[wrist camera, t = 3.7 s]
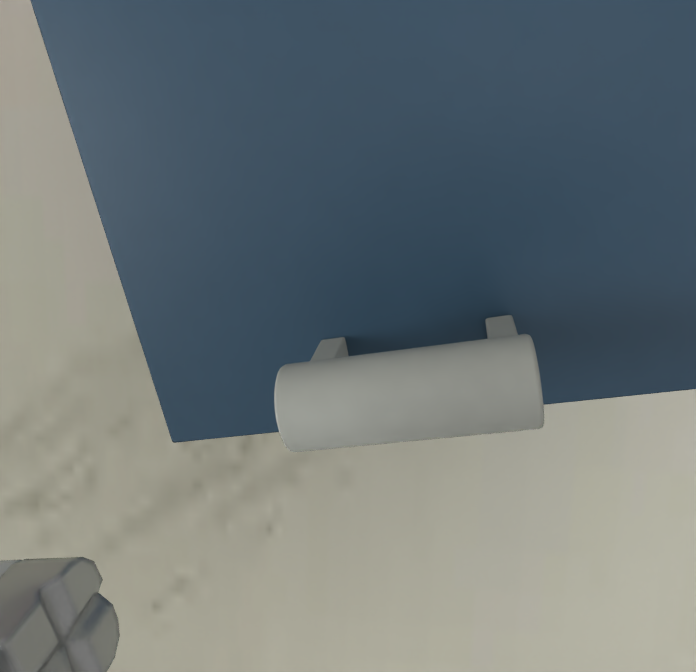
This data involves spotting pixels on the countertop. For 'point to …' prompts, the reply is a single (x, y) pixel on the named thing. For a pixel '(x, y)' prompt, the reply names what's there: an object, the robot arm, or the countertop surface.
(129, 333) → the countertop surface
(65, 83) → the lid
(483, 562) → the countertop surface
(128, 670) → the countertop surface
